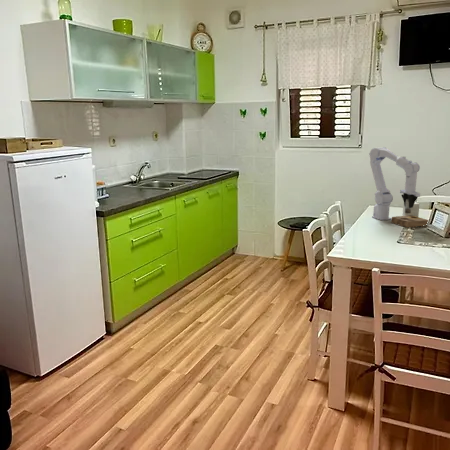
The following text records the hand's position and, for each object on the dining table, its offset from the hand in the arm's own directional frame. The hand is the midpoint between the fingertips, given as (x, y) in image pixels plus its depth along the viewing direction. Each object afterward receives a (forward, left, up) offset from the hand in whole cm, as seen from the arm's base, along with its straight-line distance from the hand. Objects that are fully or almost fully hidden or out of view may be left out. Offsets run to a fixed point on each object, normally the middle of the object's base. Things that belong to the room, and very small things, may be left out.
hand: (408, 207), depth 253 cm
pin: (0, 0, -3) cm, 3 cm away
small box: (-10, +10, -10) cm, 17 cm away
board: (0, +1, -10) cm, 10 cm away
